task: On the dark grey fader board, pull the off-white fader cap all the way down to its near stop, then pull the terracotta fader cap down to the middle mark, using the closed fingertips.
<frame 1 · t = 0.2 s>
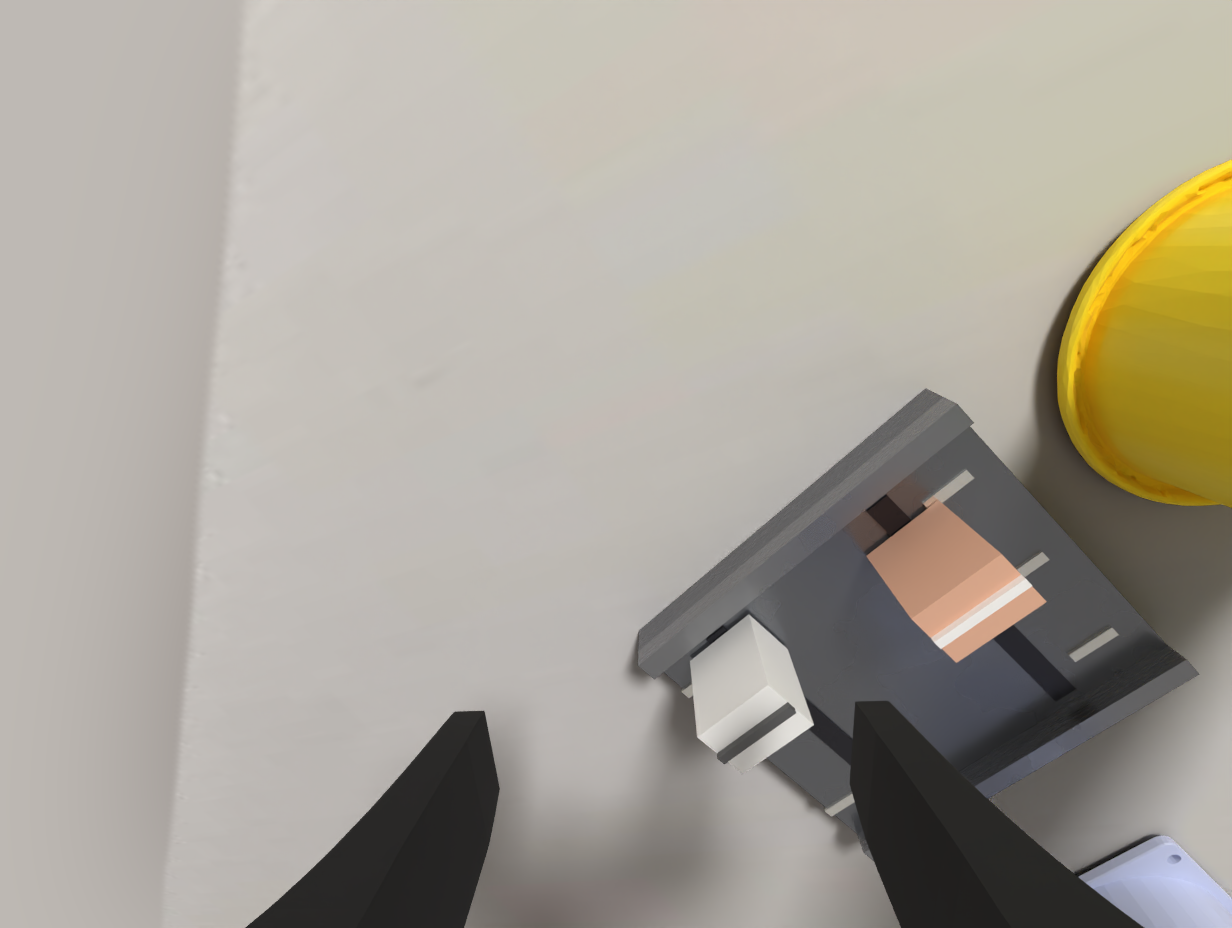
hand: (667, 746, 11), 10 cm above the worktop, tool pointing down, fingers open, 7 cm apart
fader board: (888, 633, 22), on the worktop
stacking cups: (1221, 337, 18), on the worktop
fader terracotta: (948, 578, 17), point 3 cm above the worktop, slide at 7.0 cm
fader white: (746, 692, 19), point 3 cm above the worktop, slide at 8.0 cm
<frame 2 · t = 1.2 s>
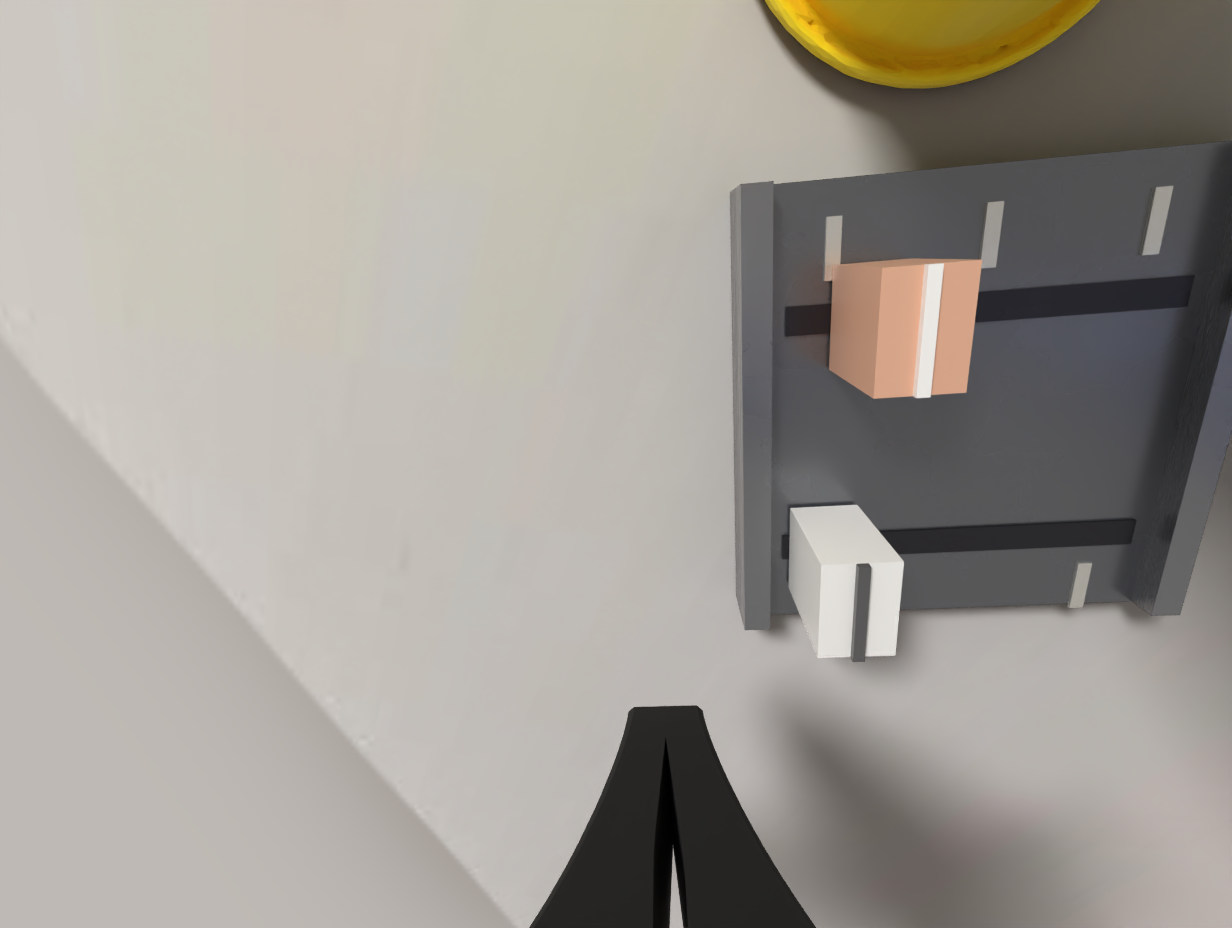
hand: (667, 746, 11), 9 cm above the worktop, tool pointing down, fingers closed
fader board: (947, 404, 18), on the worktop
fader terracotta: (895, 323, 14), point 3 cm above the worktop, slide at 7.0 cm
fader white: (839, 578, 17), point 3 cm above the worktop, slide at 8.0 cm
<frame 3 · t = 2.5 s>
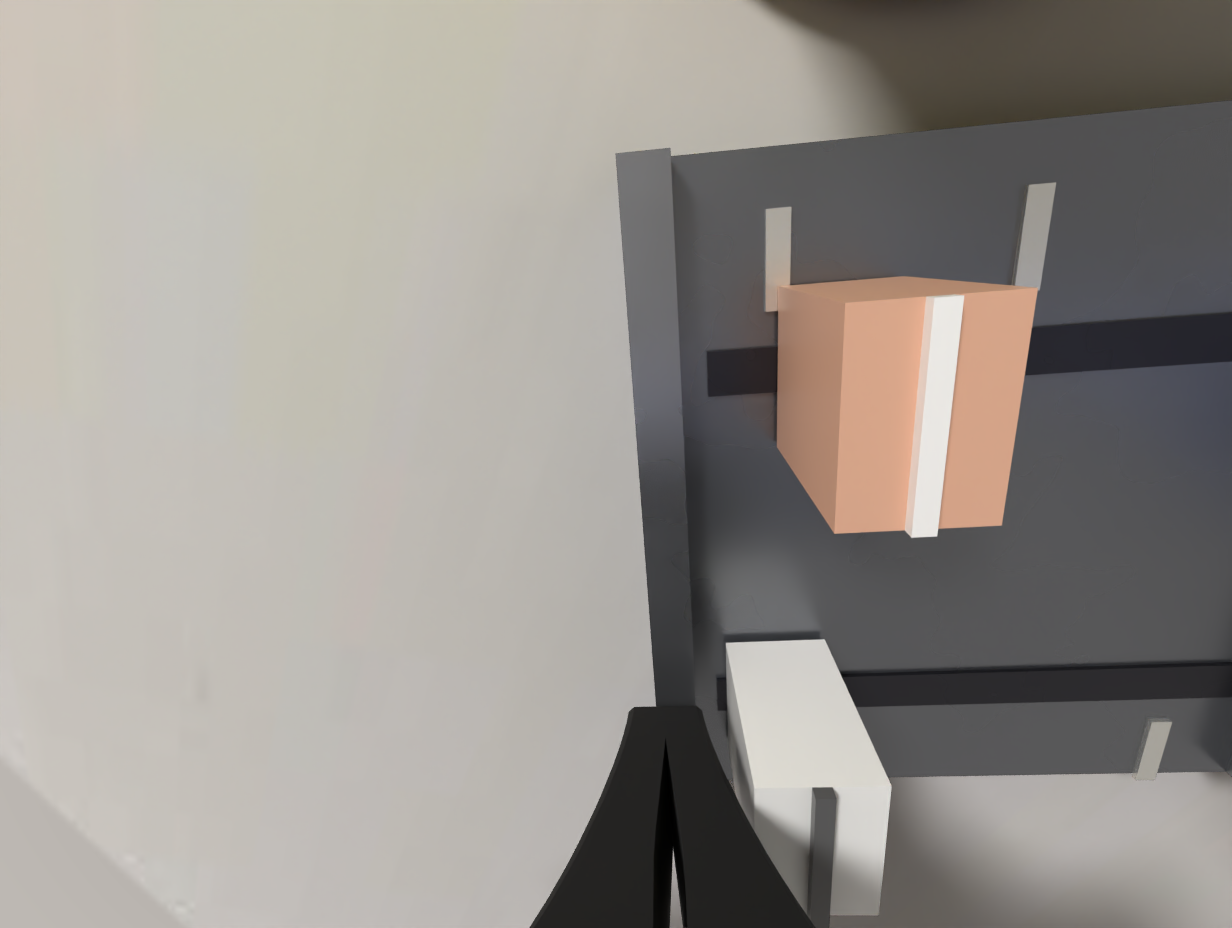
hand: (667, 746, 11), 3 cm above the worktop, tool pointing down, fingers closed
fader board: (959, 488, 12), on the worktop
fader terracotta: (875, 389, 8), point 3 cm above the worktop, slide at 7.0 cm
fader white: (794, 767, 11), point 3 cm above the worktop, slide at 8.0 cm, touching gripper
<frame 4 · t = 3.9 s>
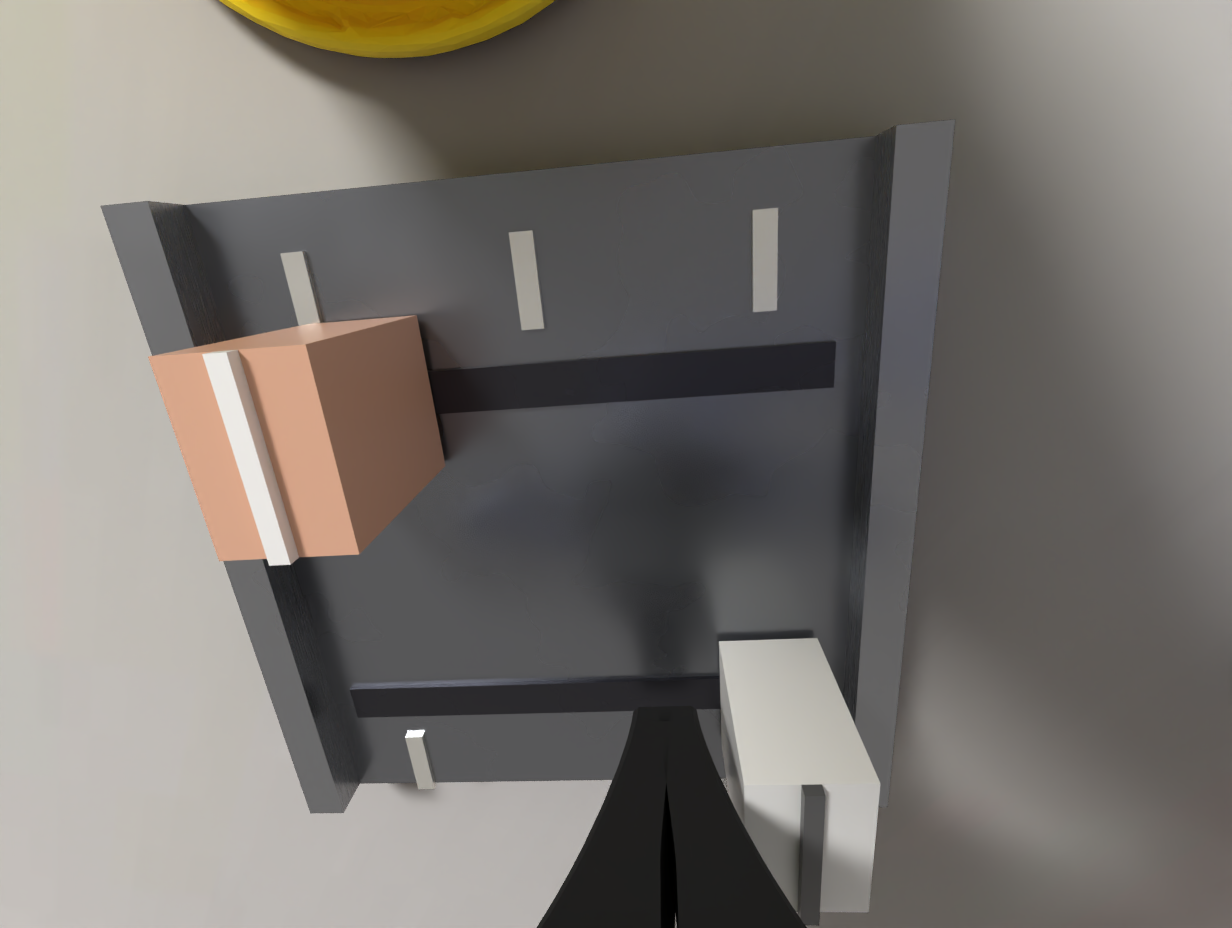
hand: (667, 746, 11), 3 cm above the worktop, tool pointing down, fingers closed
fader board: (567, 507, 13), on the worktop
fader terracotta: (326, 425, 9), point 3 cm above the worktop, slide at 7.0 cm
fader white: (786, 765, 11), point 3 cm above the worktop, slide at -0.1 cm, touching gripper
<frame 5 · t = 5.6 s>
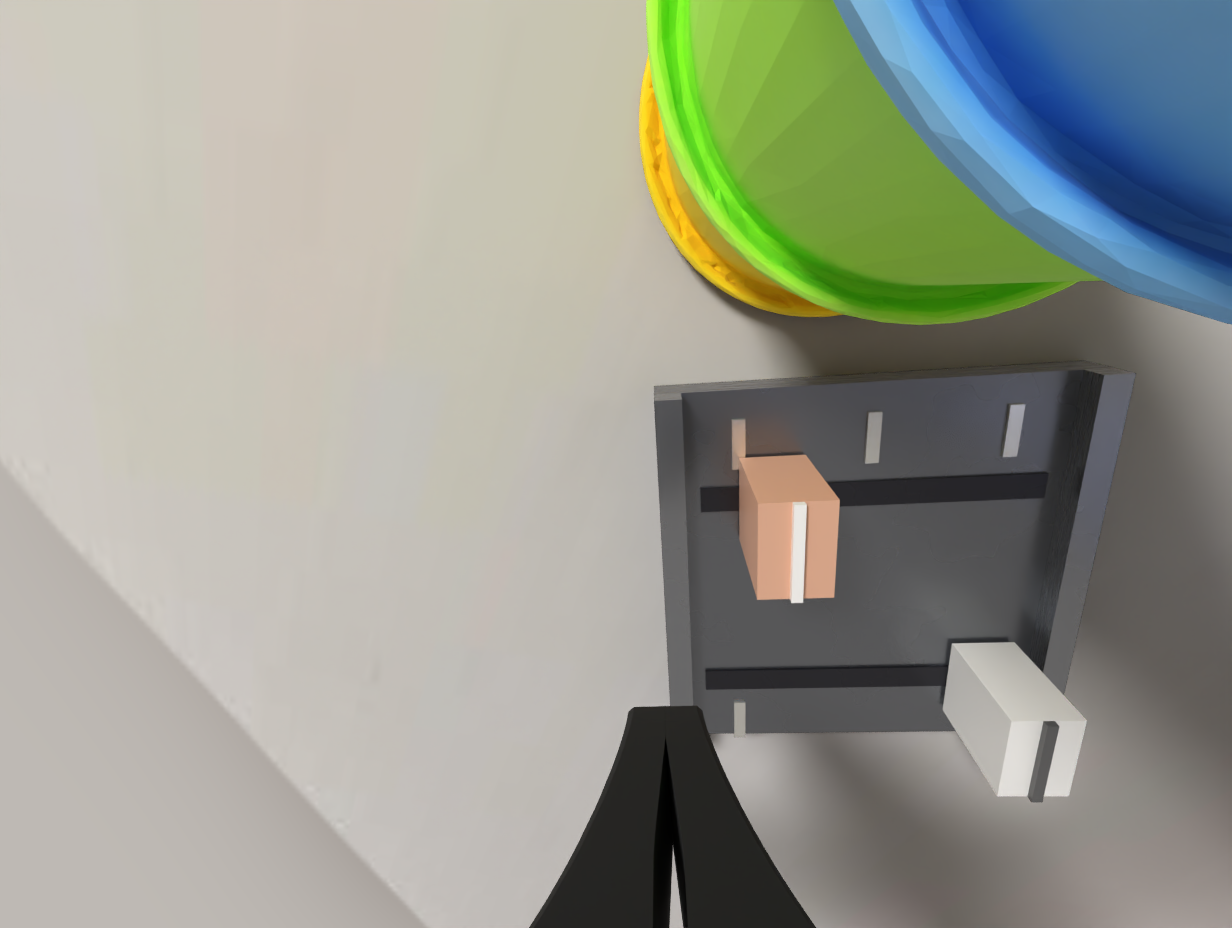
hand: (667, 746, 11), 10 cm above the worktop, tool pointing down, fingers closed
fader board: (850, 558, 20), on the worktop
stacking cups: (824, 123, 16), on the worktop
fader terracotta: (783, 524, 17), point 3 cm above the worktop, slide at 7.0 cm
fader white: (1008, 717, 18), point 3 cm above the worktop, slide at -0.1 cm
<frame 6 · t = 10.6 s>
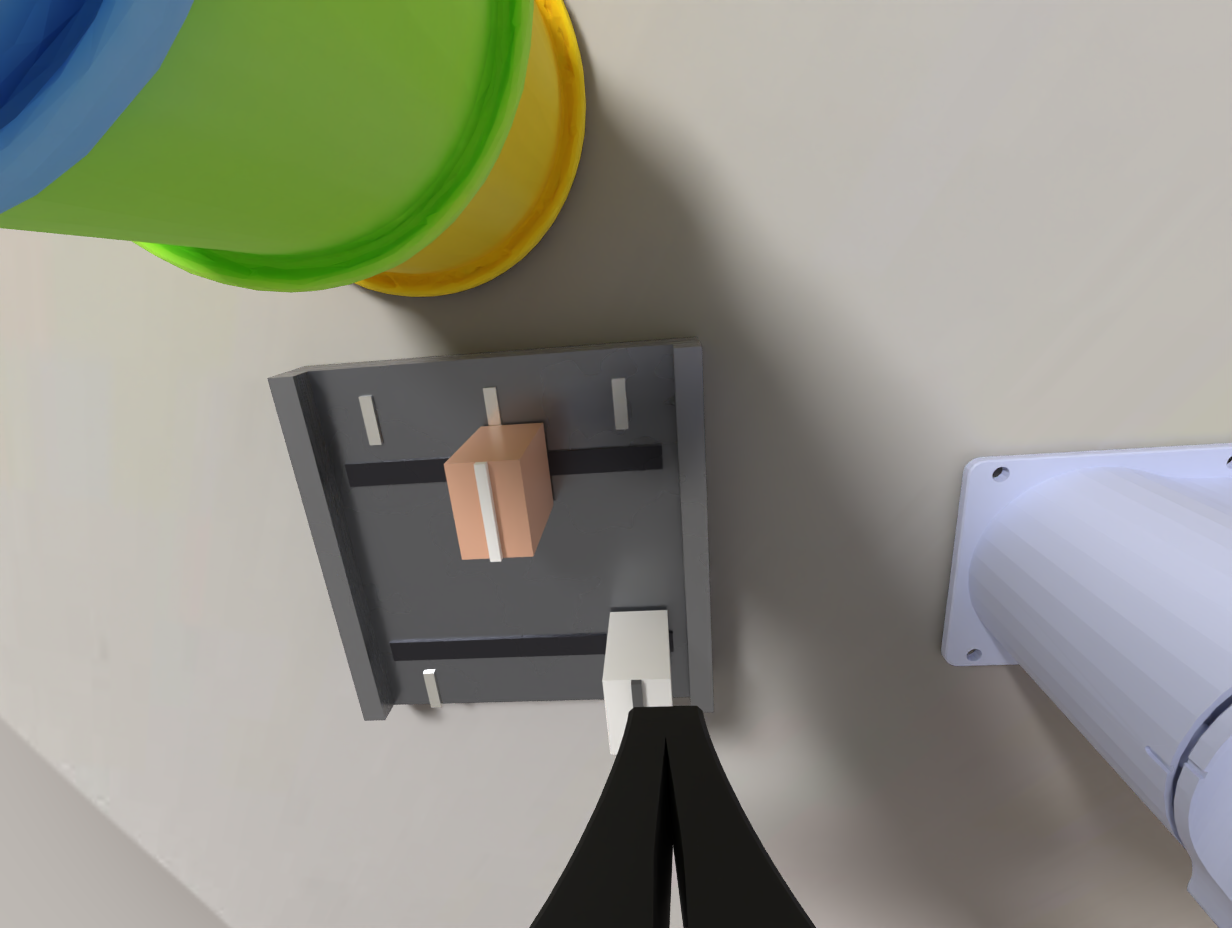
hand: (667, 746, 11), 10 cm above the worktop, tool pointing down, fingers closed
fader board: (522, 532, 21), on the worktop
stacking cups: (412, 110, 17), on the worktop
fader terracotta: (504, 488, 17), point 3 cm above the worktop, slide at 3.4 cm
fader white: (640, 680, 19), point 3 cm above the worktop, slide at -0.1 cm
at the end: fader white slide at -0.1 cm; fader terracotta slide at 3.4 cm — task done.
